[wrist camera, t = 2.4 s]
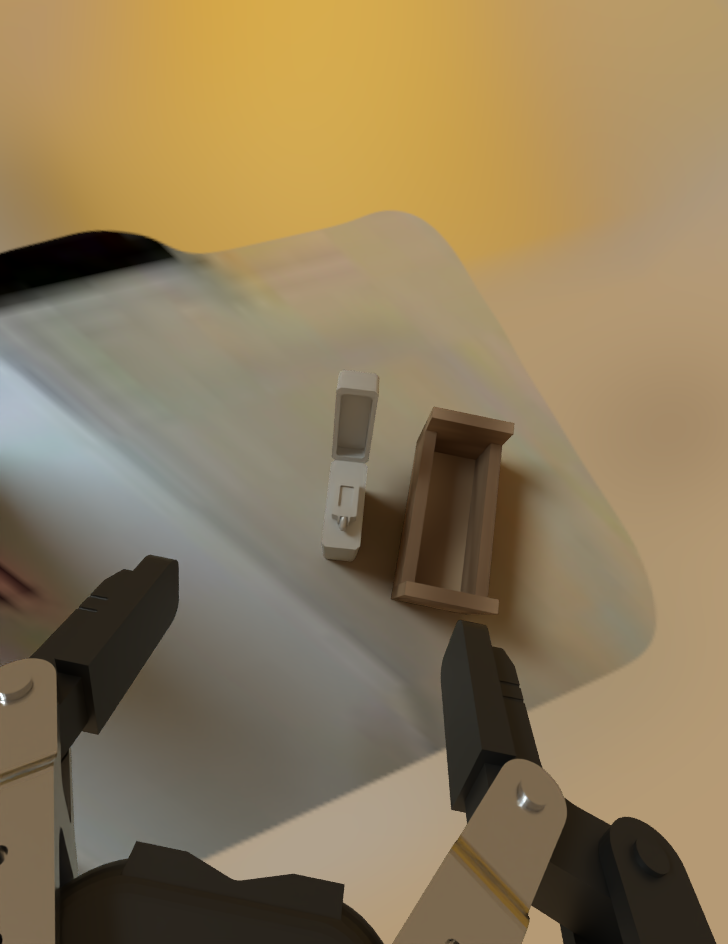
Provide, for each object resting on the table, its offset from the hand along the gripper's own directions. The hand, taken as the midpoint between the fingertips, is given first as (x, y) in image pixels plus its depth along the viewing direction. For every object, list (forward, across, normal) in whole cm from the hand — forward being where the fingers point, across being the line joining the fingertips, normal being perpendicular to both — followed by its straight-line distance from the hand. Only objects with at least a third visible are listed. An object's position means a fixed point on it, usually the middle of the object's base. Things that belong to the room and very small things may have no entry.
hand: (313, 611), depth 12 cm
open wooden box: (+12, -5, +3) cm, 13 cm away
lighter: (+12, 0, +3) cm, 13 cm away
